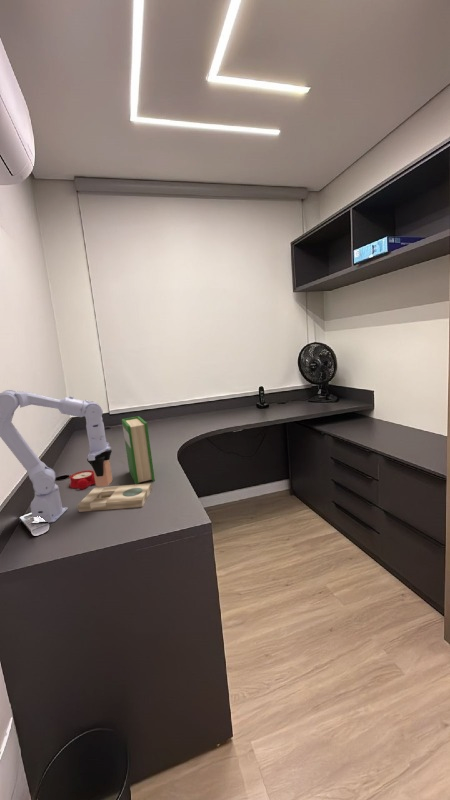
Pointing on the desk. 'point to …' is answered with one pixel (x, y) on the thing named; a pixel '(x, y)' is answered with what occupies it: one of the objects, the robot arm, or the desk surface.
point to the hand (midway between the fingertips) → (102, 473)
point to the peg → (104, 475)
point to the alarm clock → (82, 479)
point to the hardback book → (138, 449)
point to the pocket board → (115, 497)
